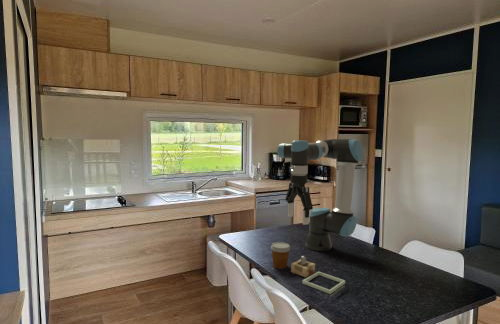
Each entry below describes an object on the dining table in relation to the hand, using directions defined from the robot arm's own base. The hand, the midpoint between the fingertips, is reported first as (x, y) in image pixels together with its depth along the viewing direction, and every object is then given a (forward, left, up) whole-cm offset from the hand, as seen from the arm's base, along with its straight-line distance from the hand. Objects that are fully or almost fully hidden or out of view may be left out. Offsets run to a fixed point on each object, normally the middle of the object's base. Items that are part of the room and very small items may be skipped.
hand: (297, 220), depth 146 cm
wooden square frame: (-4, +1, -25) cm, 26 cm away
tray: (-1, +14, -27) cm, 30 cm away
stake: (-4, +1, -27) cm, 27 cm away
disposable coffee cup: (-2, -11, -27) cm, 29 cm away
